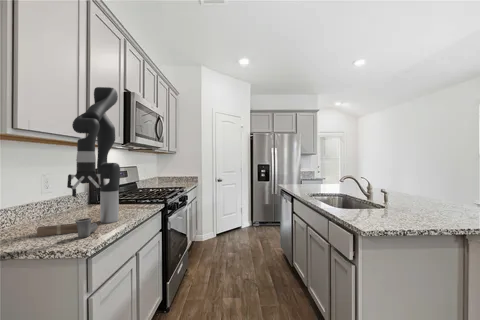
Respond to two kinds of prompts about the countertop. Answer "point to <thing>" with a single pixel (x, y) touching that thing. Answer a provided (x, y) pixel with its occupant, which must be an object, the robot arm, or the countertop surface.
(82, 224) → the pipe
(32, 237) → the countertop surface
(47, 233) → the banded brown beam
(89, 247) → the countertop surface
